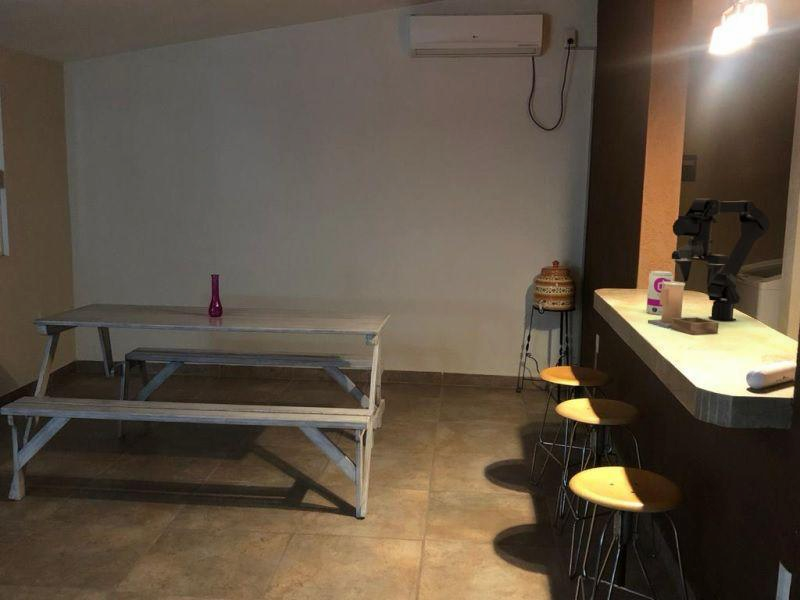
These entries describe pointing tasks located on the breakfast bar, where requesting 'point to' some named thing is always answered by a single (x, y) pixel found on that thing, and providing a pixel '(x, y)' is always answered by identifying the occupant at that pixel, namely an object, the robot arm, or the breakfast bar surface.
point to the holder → (694, 325)
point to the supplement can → (656, 290)
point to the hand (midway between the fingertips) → (697, 283)
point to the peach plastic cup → (671, 300)
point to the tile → (660, 323)
